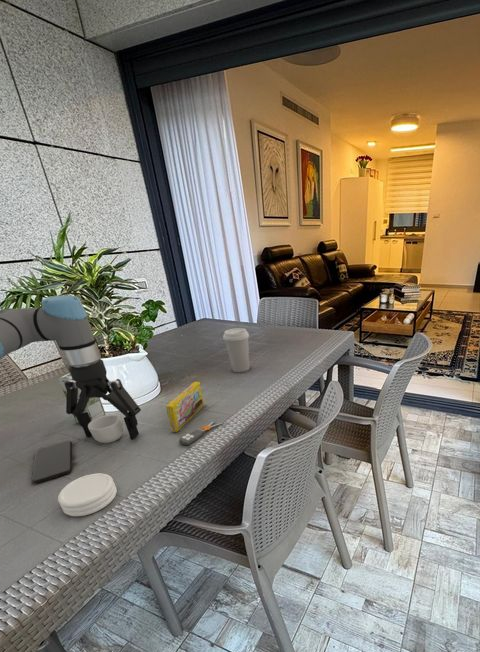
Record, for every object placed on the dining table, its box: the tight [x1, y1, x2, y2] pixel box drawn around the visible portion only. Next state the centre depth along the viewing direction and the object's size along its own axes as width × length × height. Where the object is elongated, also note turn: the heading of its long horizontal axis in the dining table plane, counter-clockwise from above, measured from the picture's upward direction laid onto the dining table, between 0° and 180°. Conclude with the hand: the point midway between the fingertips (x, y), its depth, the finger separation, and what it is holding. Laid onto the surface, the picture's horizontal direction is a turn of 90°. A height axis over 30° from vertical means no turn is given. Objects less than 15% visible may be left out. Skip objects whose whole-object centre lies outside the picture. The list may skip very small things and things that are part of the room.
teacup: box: [88, 413, 124, 444], centre depth 95 cm, size 10×8×5 cm
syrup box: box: [57, 372, 107, 424], centre depth 102 cm, size 6×6×14 cm
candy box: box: [165, 381, 205, 433], centre depth 102 cm, size 16×2×8 cm, turn 170°
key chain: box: [179, 421, 224, 446], centre depth 96 cm, size 13×4×2 cm, turn 150°
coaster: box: [57, 472, 118, 517], centre depth 74 cm, size 10×10×4 cm
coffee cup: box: [222, 327, 251, 373], centre depth 133 cm, size 10×10×15 cm
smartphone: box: [31, 440, 73, 484], centre depth 87 cm, size 8×1×16 cm
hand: (113, 435), depth 96 cm, fingers open, 12 cm apart
